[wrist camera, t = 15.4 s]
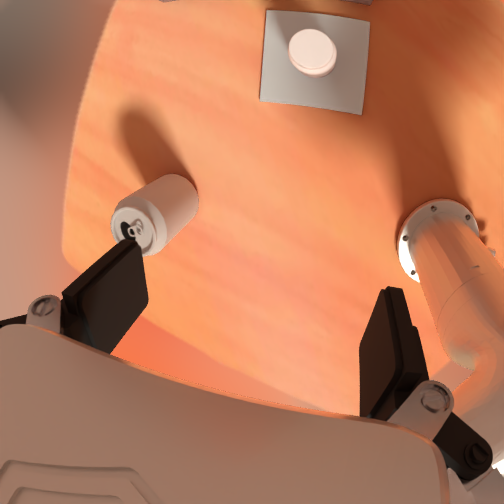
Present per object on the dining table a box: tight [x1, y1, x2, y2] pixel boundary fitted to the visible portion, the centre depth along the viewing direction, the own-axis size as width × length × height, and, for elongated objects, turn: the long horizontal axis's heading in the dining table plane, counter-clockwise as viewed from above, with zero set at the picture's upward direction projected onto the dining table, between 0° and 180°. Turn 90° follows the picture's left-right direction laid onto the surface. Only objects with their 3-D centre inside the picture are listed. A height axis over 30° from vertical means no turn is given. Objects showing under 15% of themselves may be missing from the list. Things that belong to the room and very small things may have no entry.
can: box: [111, 174, 199, 257], centre depth 37 cm, size 8×8×12 cm
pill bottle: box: [288, 29, 337, 78], centre depth 25 cm, size 5×5×8 cm
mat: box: [260, 10, 370, 115], centre depth 29 cm, size 12×12×1 cm
